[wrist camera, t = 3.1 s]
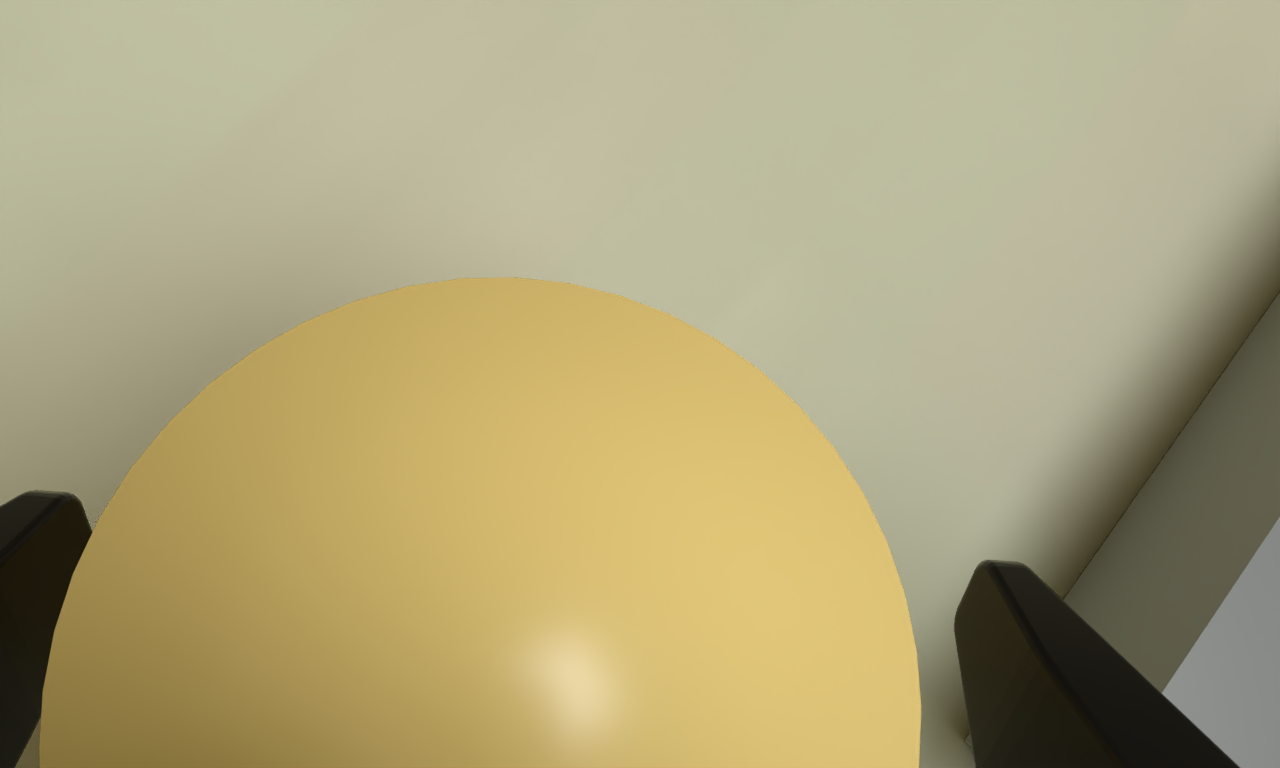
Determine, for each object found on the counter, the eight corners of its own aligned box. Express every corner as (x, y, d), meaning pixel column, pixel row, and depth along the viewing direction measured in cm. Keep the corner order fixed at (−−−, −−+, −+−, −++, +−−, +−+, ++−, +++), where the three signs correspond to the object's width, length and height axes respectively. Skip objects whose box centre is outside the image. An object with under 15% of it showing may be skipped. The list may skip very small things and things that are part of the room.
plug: (730, 556, 17) (1084, 631, 5) (576, 754, 16) (545, 1407, 4) (546, 403, 17) (448, 120, 5) (385, 592, 16) (-159, 776, 4)
